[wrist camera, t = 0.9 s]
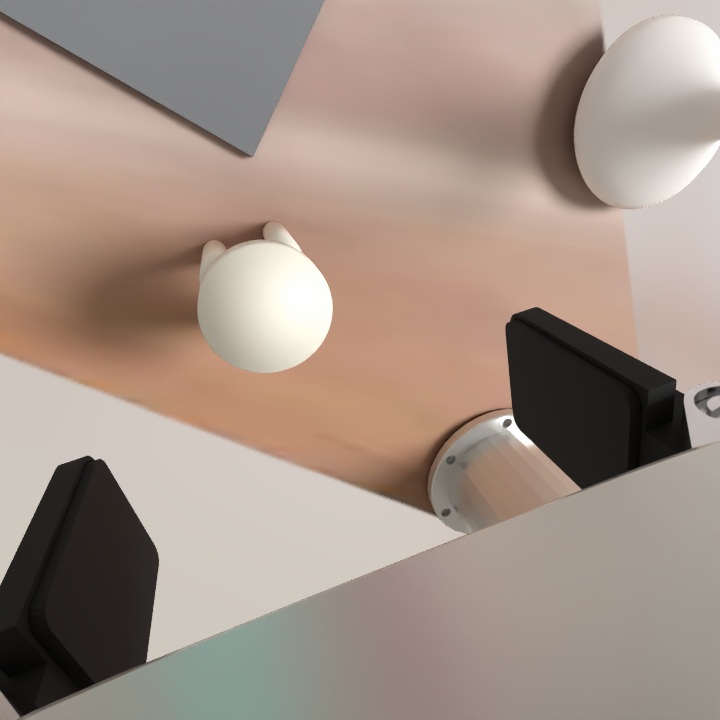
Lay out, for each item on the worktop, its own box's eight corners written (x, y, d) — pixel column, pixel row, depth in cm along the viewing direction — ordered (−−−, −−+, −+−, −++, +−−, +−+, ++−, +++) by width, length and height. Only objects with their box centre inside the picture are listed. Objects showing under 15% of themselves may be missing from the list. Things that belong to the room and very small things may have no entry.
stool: (287, 205, 30) (310, 227, 22) (317, 300, 33) (347, 347, 25) (185, 237, 29) (173, 271, 22) (225, 332, 32) (228, 390, 24)
